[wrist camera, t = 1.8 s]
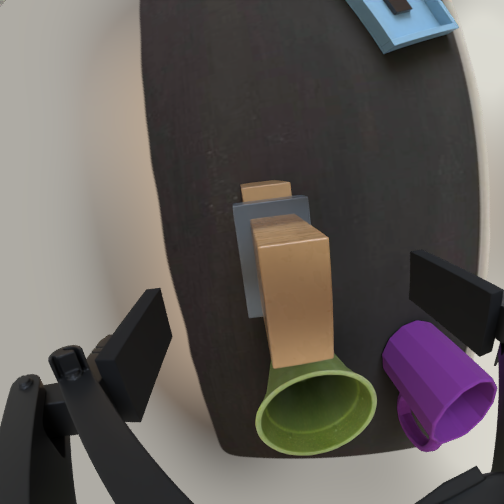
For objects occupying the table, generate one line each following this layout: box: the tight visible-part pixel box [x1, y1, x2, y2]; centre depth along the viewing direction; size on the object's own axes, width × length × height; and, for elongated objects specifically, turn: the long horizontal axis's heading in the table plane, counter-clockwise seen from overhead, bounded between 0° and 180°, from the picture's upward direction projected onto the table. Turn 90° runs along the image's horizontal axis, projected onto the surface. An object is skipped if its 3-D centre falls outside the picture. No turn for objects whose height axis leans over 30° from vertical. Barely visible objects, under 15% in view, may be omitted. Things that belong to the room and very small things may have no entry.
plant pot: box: [255, 353, 377, 455], centre depth 31 cm, size 12×12×11 cm
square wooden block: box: [240, 180, 292, 317], centre depth 28 cm, size 10×4×10 cm, turn 8°
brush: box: [232, 195, 334, 369], centre depth 18 cm, size 8×5×10 cm, turn 8°
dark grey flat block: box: [383, 0, 413, 15], centre depth 25 cm, size 3×3×1 cm
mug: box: [382, 320, 497, 452], centre depth 31 cm, size 9×16×15 cm, turn 1°
